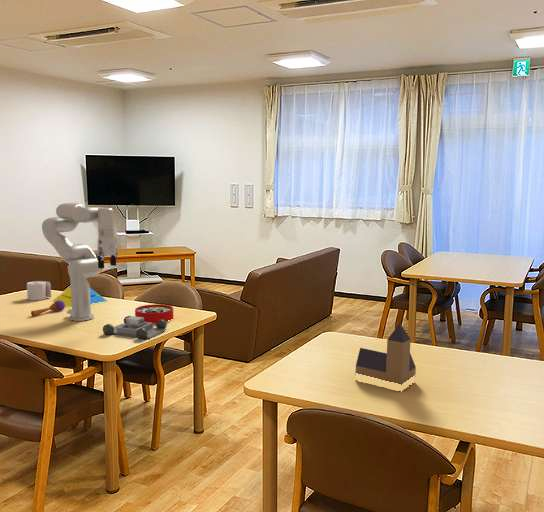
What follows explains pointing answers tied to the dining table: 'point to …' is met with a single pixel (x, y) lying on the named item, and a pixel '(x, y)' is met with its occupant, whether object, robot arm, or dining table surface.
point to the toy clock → (154, 312)
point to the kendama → (50, 308)
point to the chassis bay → (141, 332)
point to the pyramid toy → (67, 300)
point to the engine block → (134, 322)
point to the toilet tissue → (38, 290)
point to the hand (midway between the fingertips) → (107, 266)
